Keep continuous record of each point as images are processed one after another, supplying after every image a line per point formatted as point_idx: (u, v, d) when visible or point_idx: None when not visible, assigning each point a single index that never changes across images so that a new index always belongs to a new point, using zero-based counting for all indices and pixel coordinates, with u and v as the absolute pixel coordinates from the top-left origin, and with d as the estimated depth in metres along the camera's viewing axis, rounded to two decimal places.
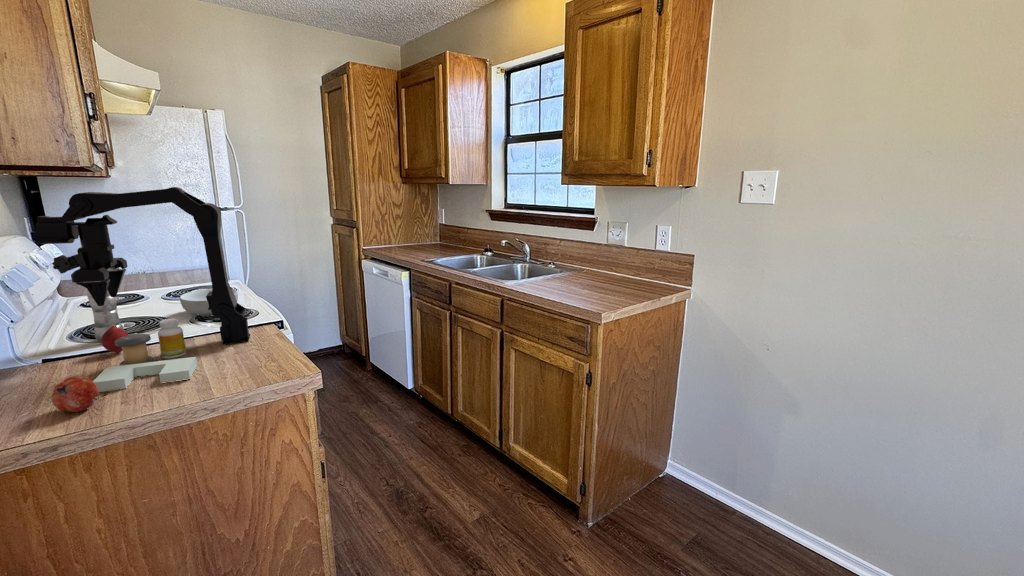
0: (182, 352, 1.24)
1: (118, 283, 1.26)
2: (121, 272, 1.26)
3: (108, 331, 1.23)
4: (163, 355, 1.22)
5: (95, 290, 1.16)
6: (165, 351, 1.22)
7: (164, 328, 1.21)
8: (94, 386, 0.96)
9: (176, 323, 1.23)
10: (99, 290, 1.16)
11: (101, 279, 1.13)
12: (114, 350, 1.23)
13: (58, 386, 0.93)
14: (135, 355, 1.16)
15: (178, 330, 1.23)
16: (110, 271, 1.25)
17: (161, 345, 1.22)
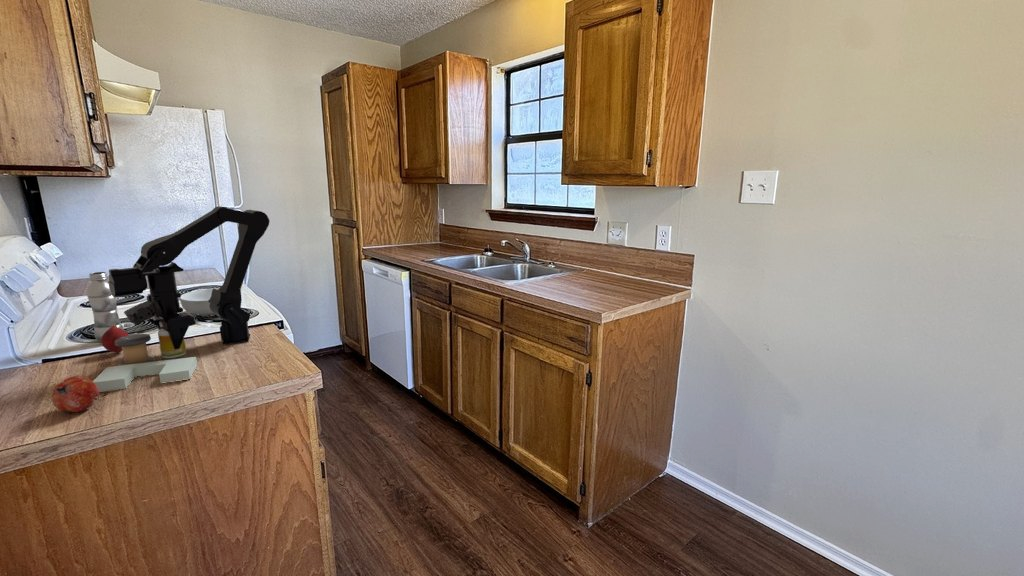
0: (182, 352, 1.24)
1: None
2: None
3: (108, 331, 1.23)
4: (163, 355, 1.22)
5: (176, 334, 1.21)
6: (165, 351, 1.22)
7: None
8: (94, 386, 0.96)
9: None
10: (179, 333, 1.22)
11: (194, 323, 1.19)
12: (114, 350, 1.23)
13: (58, 386, 0.93)
14: (135, 355, 1.16)
15: None
16: None
17: (161, 345, 1.22)
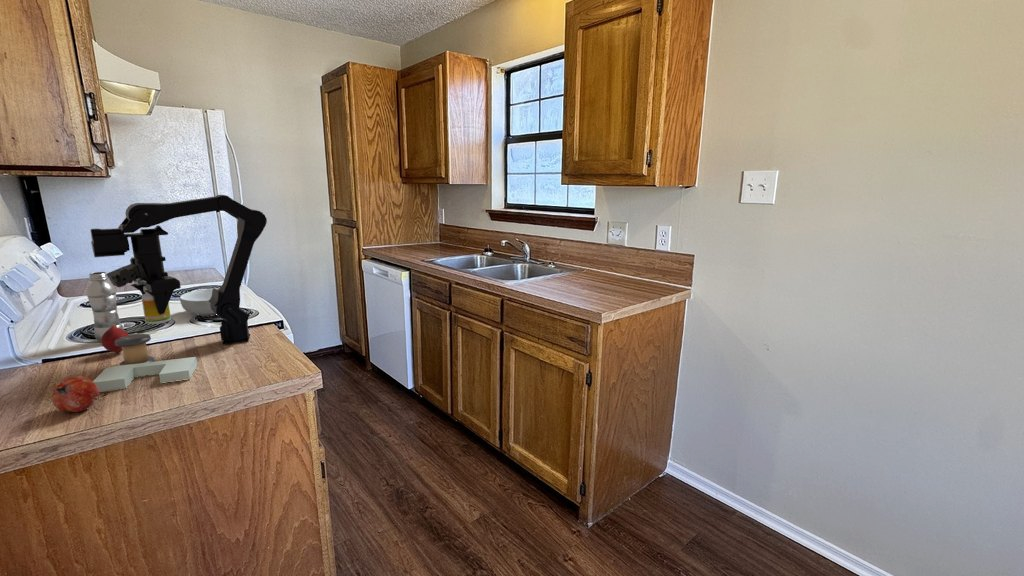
0: (167, 318, 1.22)
1: None
2: None
3: (108, 331, 1.23)
4: (147, 320, 1.20)
5: (160, 298, 1.18)
6: (149, 316, 1.19)
7: None
8: (94, 386, 0.96)
9: None
10: (164, 298, 1.19)
11: (179, 287, 1.17)
12: (114, 350, 1.23)
13: (58, 386, 0.93)
14: (135, 355, 1.16)
15: None
16: None
17: (145, 310, 1.19)
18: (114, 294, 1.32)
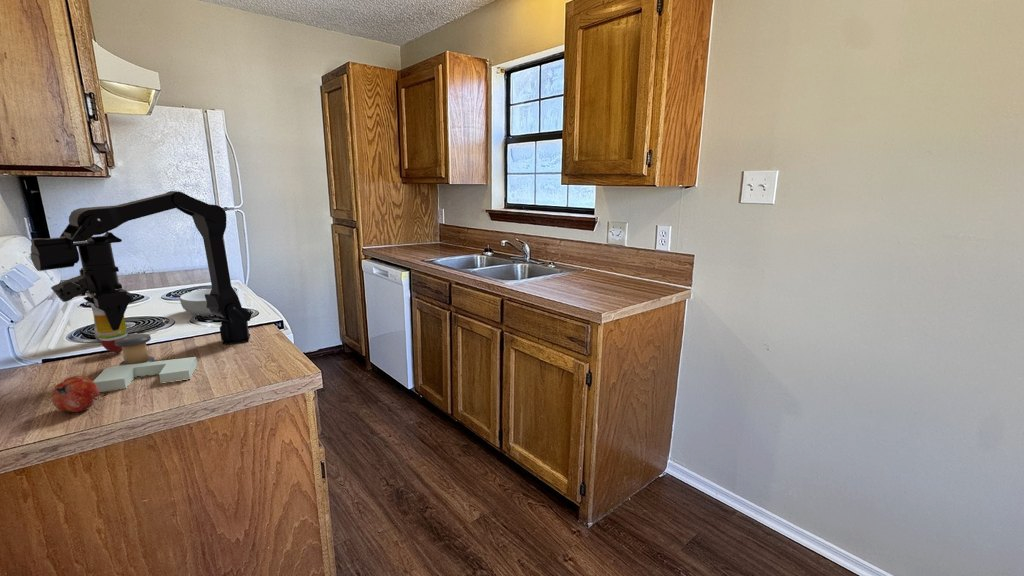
0: (122, 334, 1.11)
1: None
2: None
3: None
4: (99, 337, 1.09)
5: (112, 313, 1.07)
6: (101, 332, 1.08)
7: None
8: (95, 386, 0.96)
9: None
10: (117, 312, 1.08)
11: (131, 301, 1.05)
12: (114, 350, 1.23)
13: (58, 386, 0.93)
14: (135, 355, 1.16)
15: None
16: None
17: (97, 326, 1.08)
18: None
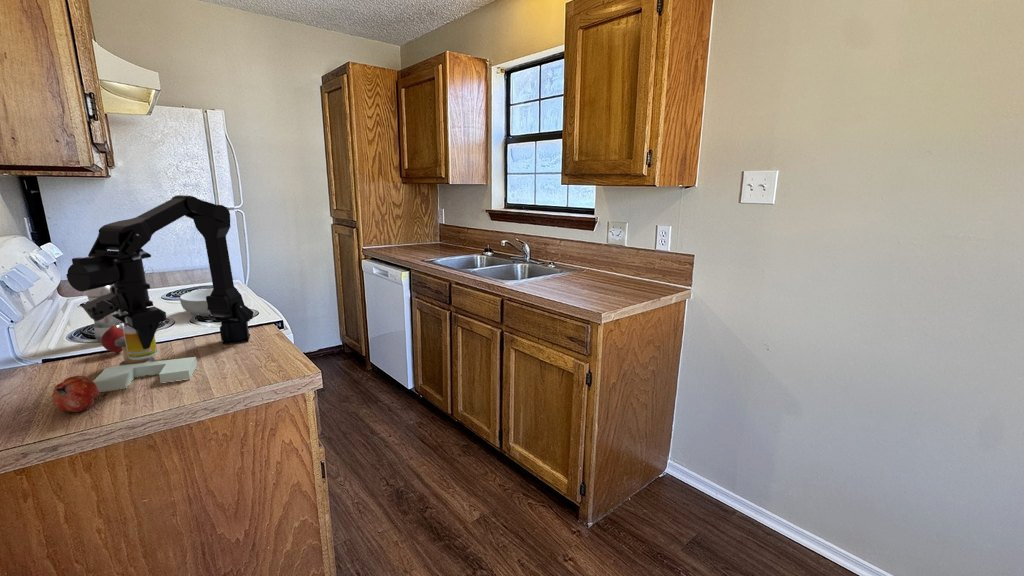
0: (152, 352, 1.08)
1: None
2: None
3: (108, 331, 1.23)
4: (130, 356, 1.06)
5: (144, 331, 1.04)
6: (131, 351, 1.05)
7: None
8: (94, 386, 0.96)
9: None
10: (148, 331, 1.05)
11: (165, 319, 1.03)
12: (114, 350, 1.23)
13: (58, 386, 0.93)
14: None
15: None
16: None
17: (127, 344, 1.05)
18: None
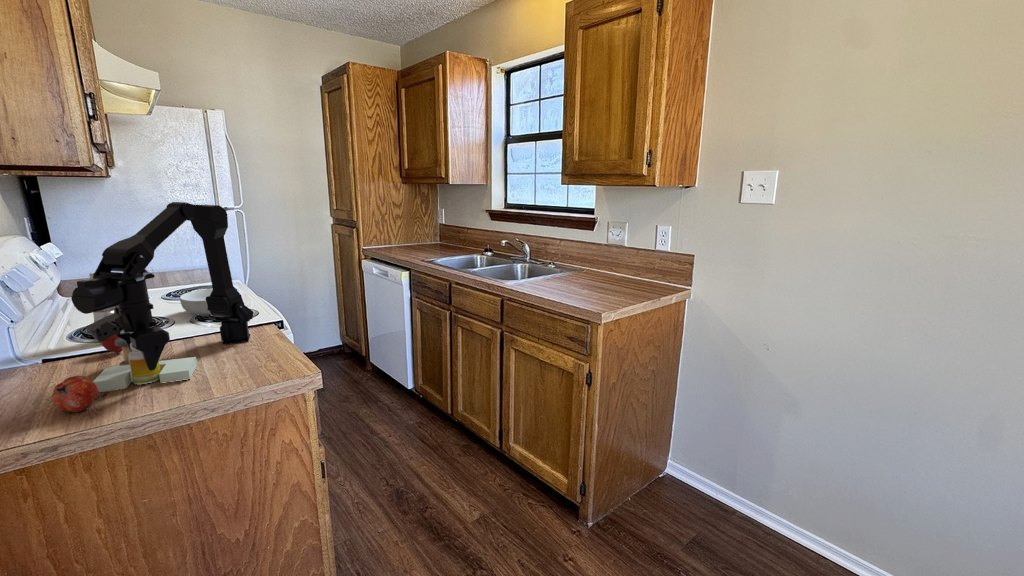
0: (156, 377, 1.09)
1: None
2: None
3: None
4: (134, 381, 1.07)
5: (150, 353, 1.04)
6: (136, 376, 1.07)
7: (135, 351, 1.06)
8: (94, 386, 0.96)
9: None
10: (154, 352, 1.05)
11: (168, 339, 1.04)
12: (114, 350, 1.23)
13: (58, 386, 0.93)
14: None
15: None
16: None
17: (132, 370, 1.07)
18: None
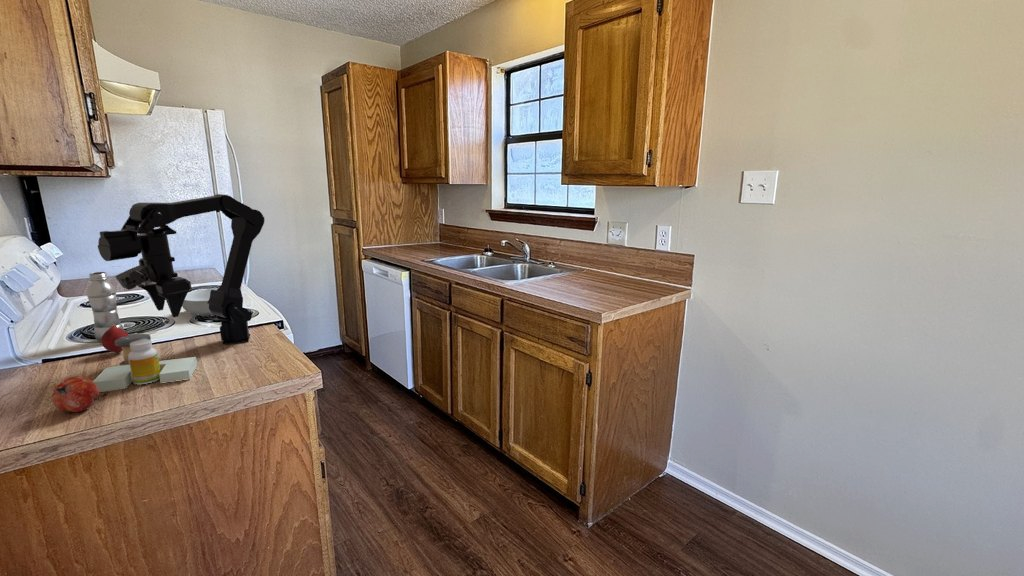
0: (156, 377, 1.09)
1: None
2: None
3: (108, 331, 1.23)
4: (134, 381, 1.07)
5: (174, 301, 1.15)
6: (136, 376, 1.07)
7: (135, 351, 1.06)
8: (95, 386, 0.96)
9: (149, 345, 1.08)
10: (177, 300, 1.16)
11: (190, 288, 1.14)
12: (114, 350, 1.23)
13: (58, 386, 0.93)
14: None
15: (152, 352, 1.08)
16: (155, 284, 1.21)
17: (132, 370, 1.07)
18: (114, 294, 1.32)
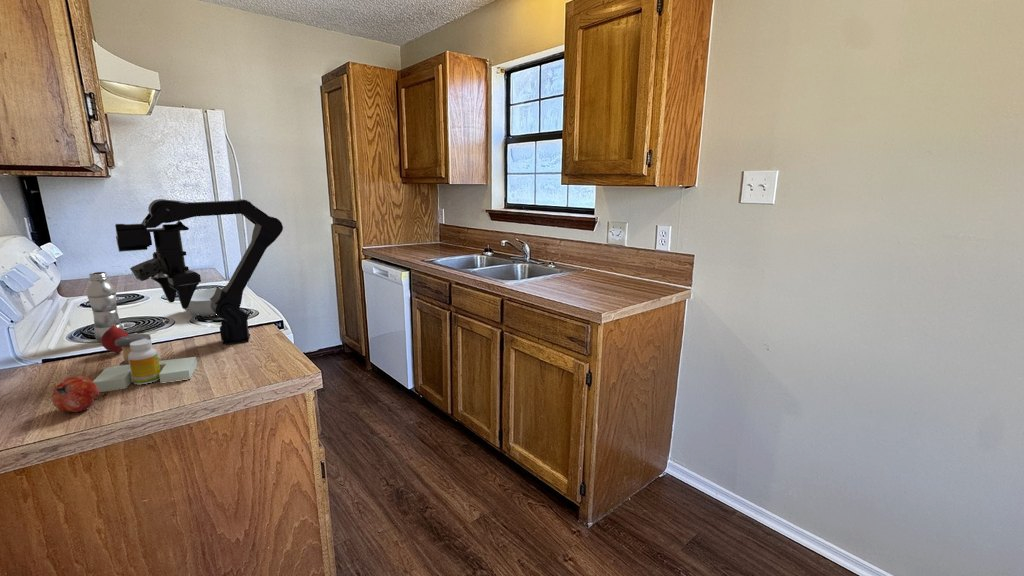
0: (156, 377, 1.09)
1: None
2: None
3: (108, 331, 1.23)
4: (134, 381, 1.07)
5: (184, 293, 1.21)
6: (136, 376, 1.07)
7: (135, 351, 1.06)
8: (95, 386, 0.96)
9: (149, 345, 1.08)
10: (187, 292, 1.21)
11: (199, 280, 1.20)
12: (114, 350, 1.23)
13: (58, 386, 0.93)
14: None
15: (152, 352, 1.08)
16: (167, 277, 1.27)
17: (132, 370, 1.06)
18: (114, 294, 1.32)
